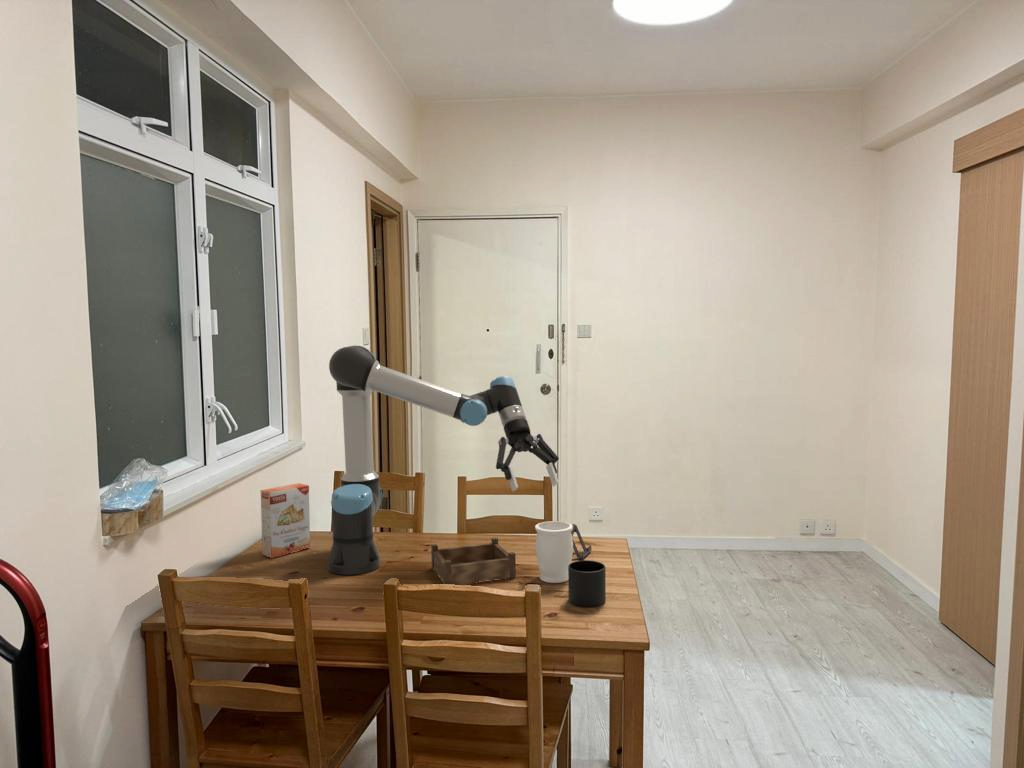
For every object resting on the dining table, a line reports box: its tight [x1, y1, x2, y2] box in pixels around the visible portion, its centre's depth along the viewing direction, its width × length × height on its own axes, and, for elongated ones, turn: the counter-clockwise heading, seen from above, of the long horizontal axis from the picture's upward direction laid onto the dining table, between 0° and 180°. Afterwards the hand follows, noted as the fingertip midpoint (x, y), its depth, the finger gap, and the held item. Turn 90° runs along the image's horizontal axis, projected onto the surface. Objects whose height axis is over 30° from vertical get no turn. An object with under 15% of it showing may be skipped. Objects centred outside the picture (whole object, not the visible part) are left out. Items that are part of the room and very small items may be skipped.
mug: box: [567, 559, 607, 608], centre depth 187 cm, size 9×12×9 cm
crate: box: [430, 537, 517, 586], centre depth 207 cm, size 20×17×7 cm
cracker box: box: [260, 482, 311, 559], centre depth 228 cm, size 14×6×21 cm, turn 139°
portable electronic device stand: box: [571, 523, 592, 561], centre depth 222 cm, size 9×8×8 cm
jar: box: [534, 520, 574, 584], centre depth 202 cm, size 11×10×15 cm
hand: (535, 486), depth 210 cm, fingers open, 13 cm apart
